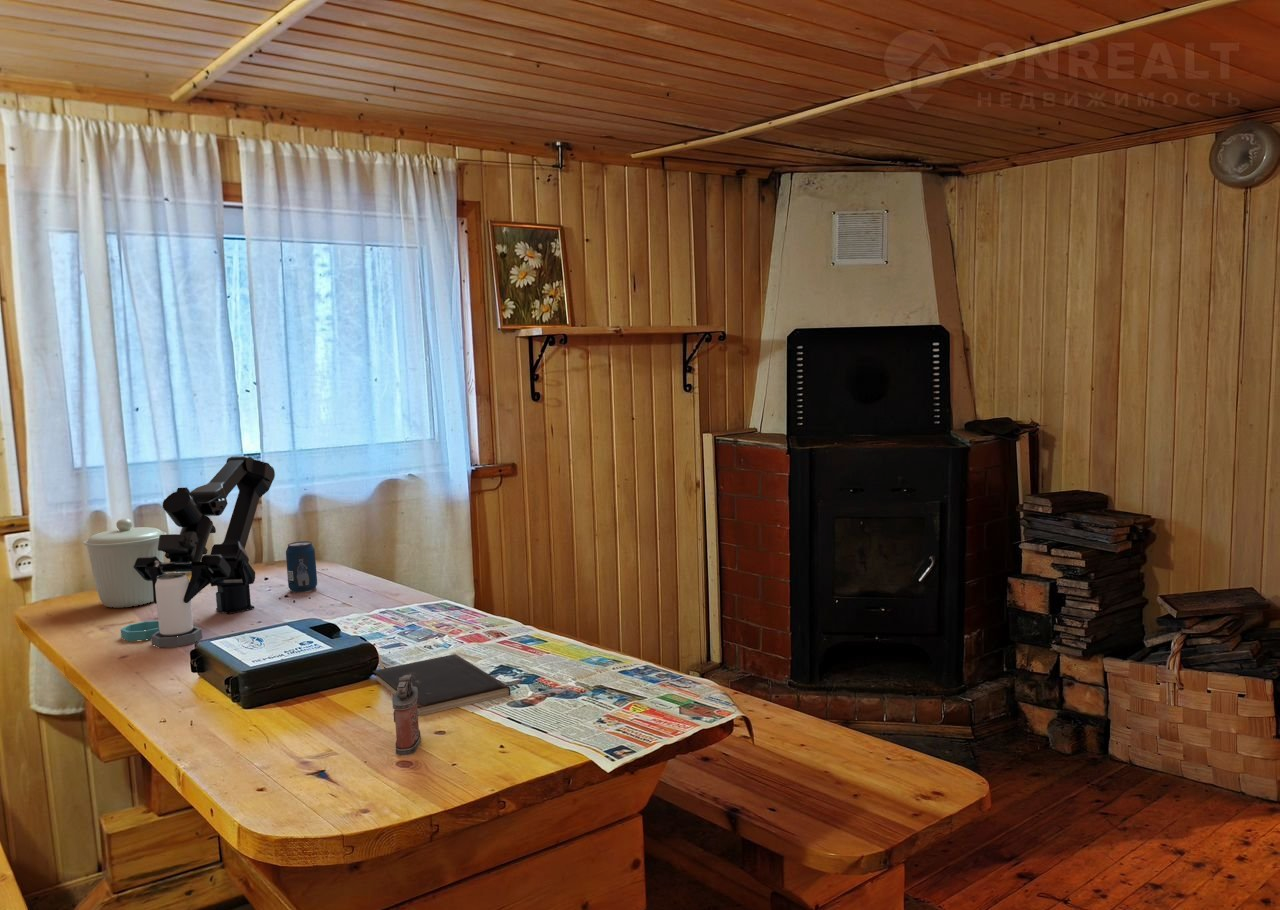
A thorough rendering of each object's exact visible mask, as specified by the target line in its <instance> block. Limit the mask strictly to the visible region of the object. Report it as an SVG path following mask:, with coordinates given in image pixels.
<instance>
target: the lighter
mask: <svg viewBox="0 0 1280 910" xmlns="http://www.w3.org/2000/svg"><path fill="white" fill-rule="evenodd" d="M417 698H418V690H417V687H415V686H412V683H411V675H404V676H403V677H399V685H398V687H397V692H396V693H395V695H394V694H393V697H392V709H393V722H394V724H395V738H396V741H395V744H394V745H395V754H396V756H401V757H402V756H404V757H405V756H410V755H412V754H414V753H415V752H416V751H417V750H418V749H419V747H420V745H421V742H422V738H421V737H422V736H421V734H422V733H421V730H420V729H419V726H420V725H419V715H418V709H417Z"/></svg>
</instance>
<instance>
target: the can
mask: <svg viewBox="0 0 1280 910" xmlns="http://www.w3.org/2000/svg"><path fill="white" fill-rule="evenodd" d="M189 582H190V580H189V579H188V577H187V572H168V573H166V574H163V575H160V576H158V577H157V581H156V584H155V591H156V602H157V604H156V608H157V609H156V611H157V619H158V620H157V621H158V622H159V631H160V633H161V634H162V635H164V636H174V635H181V634H185V633H188V632H190V631H192V629H193V626H194V617H193V608H192V606H193V605H192V599H191V600H190V601H189V602H188V603H185V602H184V596H185V593H186V590H187V587H188V584H189Z"/></svg>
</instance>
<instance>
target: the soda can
mask: <svg viewBox="0 0 1280 910" xmlns="http://www.w3.org/2000/svg"><path fill="white" fill-rule="evenodd" d="M315 550H316V549H315V547H314V545H313V543H312V541H308V540H306V541H305V540H304V541H294V542H290V543H288V544H287V547H286V550H285V559H286V561H285V562H286V570H287V571H286V572H287V573H286V574H287V586H288V587H287V588H289V590H290V592H292V593H294V594H298V593H299V594H302V593H309V592H312V591H315V589H316V587H317V586H318V577H317V562H316V551H315Z"/></svg>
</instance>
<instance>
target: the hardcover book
mask: <svg viewBox="0 0 1280 910" xmlns="http://www.w3.org/2000/svg"><path fill="white" fill-rule="evenodd" d="M372 672H373V673H374V674H375V675H376V681H377V682H378V683H380V684H381V685H382V686H383V687H384V688H385V689H387V690H388V691H389V692H390V693H392V694H393V696H394V695H395V693H396V692H397V687H398V685H399V677H403V676H404V675H411V683H412V686H415V687H417V690H418V698H417V709H418V716H420V717H422V716H427V715H431V714H436V713H439V712H444V711H448V710H453V709H456V708H460V707H465V706H469V705H474V704H478V703H481V702H482V703H483V702H486V701H489V700H495V699H499V698H503V697H508V696H511V687H510V686H509V685H507V684H505V683H503V682H502V681H501V680H498V679H497V678H495V677H494V676H492V675H490V674H489V673H487V672H486V671H484V670H482V669H481V668H479V667H477V666H476V665H474V664H473V663H471V662H469V661H467V659H465V658H463V657H462V656H459V655H458V654H457V653H453V654H449V655H444V656H439V657H433V658H430V659H424V660H420V661H415V662H411V663H406V664H405V663H404V664H400V665H395V666H390V667H385V668H381V669H376V670H373V671H372Z"/></svg>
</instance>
